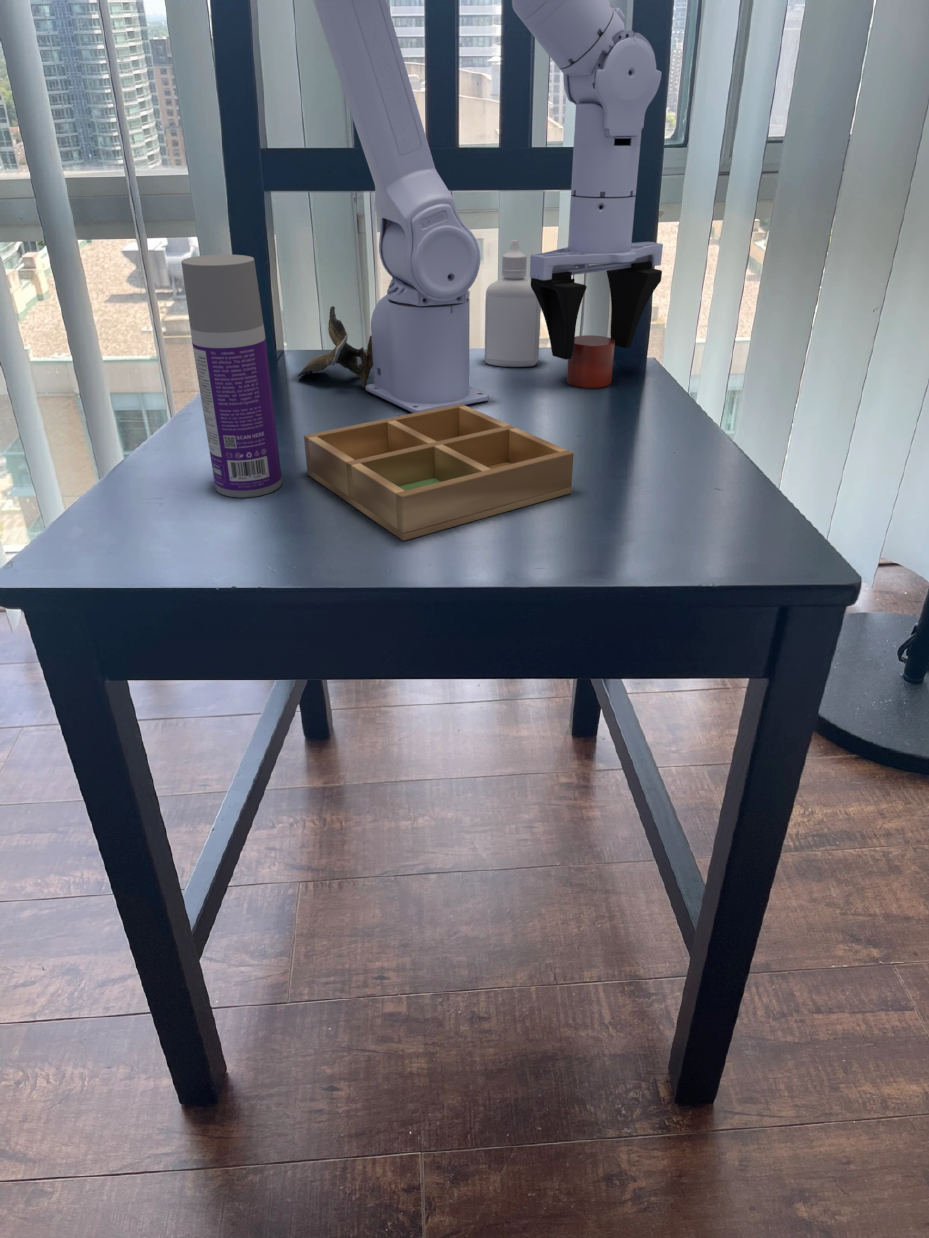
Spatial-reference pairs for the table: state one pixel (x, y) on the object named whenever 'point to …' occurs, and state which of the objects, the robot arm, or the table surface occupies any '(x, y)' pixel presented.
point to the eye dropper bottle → (512, 315)
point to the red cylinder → (591, 362)
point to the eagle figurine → (342, 353)
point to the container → (233, 373)
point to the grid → (437, 468)
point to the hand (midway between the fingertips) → (591, 351)
